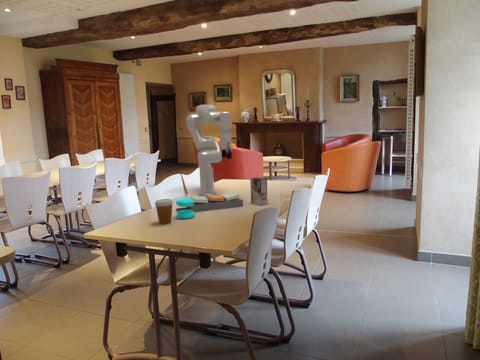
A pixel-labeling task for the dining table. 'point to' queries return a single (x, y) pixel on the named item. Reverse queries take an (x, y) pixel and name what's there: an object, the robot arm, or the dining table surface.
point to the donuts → (185, 203)
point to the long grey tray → (213, 205)
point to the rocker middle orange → (214, 198)
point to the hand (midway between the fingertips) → (226, 158)
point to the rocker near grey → (199, 199)
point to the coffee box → (258, 191)
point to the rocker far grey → (230, 196)
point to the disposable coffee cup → (164, 210)
